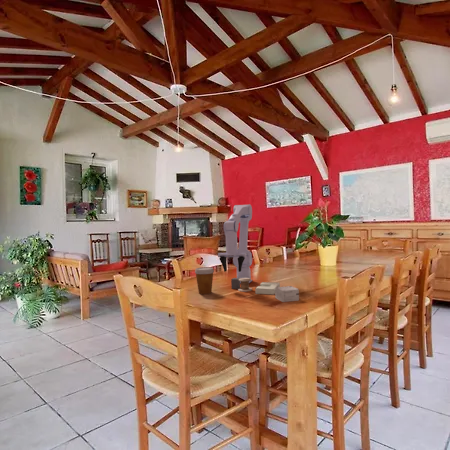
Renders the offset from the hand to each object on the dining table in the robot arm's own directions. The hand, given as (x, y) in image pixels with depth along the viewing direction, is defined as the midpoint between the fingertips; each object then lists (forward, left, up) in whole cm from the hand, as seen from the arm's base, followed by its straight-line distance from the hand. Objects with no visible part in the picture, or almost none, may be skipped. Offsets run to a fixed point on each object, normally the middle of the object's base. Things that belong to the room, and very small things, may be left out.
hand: (232, 271), depth 167 cm
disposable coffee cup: (+8, -12, -10) cm, 17 cm away
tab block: (-5, 0, -10) cm, 11 cm away
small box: (+14, +29, -10) cm, 34 cm away
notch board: (-2, +18, -10) cm, 20 cm away
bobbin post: (-1, +6, -10) cm, 11 cm away
